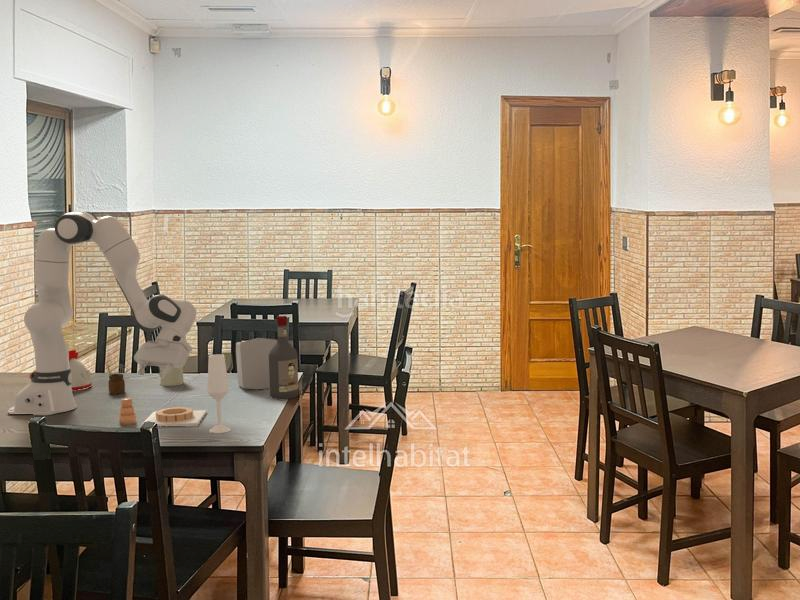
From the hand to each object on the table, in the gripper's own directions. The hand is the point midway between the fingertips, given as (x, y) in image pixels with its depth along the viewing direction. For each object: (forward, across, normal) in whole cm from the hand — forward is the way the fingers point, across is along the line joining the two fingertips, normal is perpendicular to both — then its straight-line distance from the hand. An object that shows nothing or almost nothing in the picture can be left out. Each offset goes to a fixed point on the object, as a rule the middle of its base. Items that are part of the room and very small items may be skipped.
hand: (150, 374), depth 304 cm
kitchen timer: (-6, -61, +26) cm, 67 cm away
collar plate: (+12, +12, +8) cm, 19 cm away
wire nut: (+18, 0, +2) cm, 18 cm away
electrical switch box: (-28, +5, +48) cm, 55 cm away
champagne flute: (+15, +34, +5) cm, 38 cm away
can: (-21, -30, +41) cm, 55 cm away
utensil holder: (-5, -38, +25) cm, 46 cm away
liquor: (-19, +26, +39) cm, 51 cm away
